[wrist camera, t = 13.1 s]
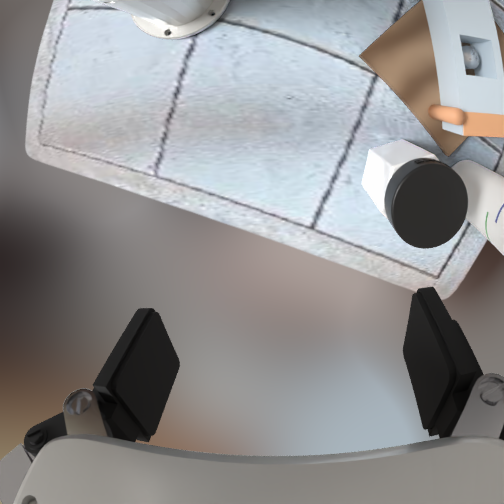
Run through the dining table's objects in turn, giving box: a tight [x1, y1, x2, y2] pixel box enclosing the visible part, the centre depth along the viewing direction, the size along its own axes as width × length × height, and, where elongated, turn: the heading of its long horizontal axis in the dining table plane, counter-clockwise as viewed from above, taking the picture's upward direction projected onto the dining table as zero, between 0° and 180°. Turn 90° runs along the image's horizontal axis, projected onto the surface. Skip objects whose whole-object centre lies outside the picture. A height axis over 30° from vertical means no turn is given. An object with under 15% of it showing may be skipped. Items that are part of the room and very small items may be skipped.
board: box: [359, 0, 504, 157], centre depth 26 cm, size 16×20×1 cm
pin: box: [428, 104, 465, 125], centre depth 26 cm, size 2×2×6 cm
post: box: [462, 46, 479, 69], centre depth 24 cm, size 3×3×3 cm
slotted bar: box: [423, 0, 504, 137], centre depth 23 cm, size 18×7×5 cm, turn 10°
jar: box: [361, 139, 468, 248], centre depth 29 cm, size 9×8×12 cm
